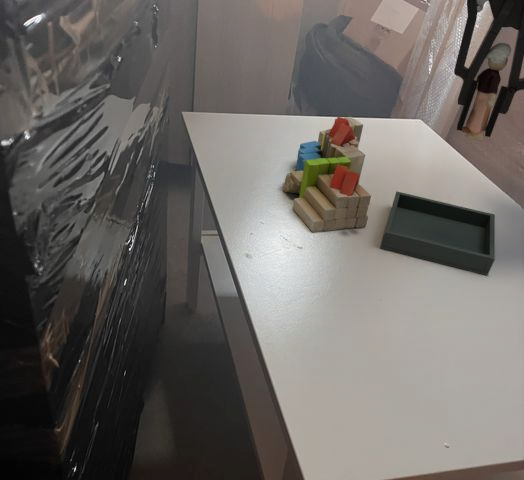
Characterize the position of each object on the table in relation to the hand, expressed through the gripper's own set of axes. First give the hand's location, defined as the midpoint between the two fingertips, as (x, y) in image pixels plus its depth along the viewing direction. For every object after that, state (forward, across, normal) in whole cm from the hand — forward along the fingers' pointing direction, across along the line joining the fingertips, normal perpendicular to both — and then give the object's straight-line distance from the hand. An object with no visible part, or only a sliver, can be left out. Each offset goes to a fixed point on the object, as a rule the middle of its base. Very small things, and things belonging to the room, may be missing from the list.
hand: (473, 130), depth 88 cm
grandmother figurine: (+1, 0, 0) cm, 1 cm away
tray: (+19, 0, -1) cm, 19 cm away
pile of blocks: (+19, -22, +9) cm, 31 cm away
